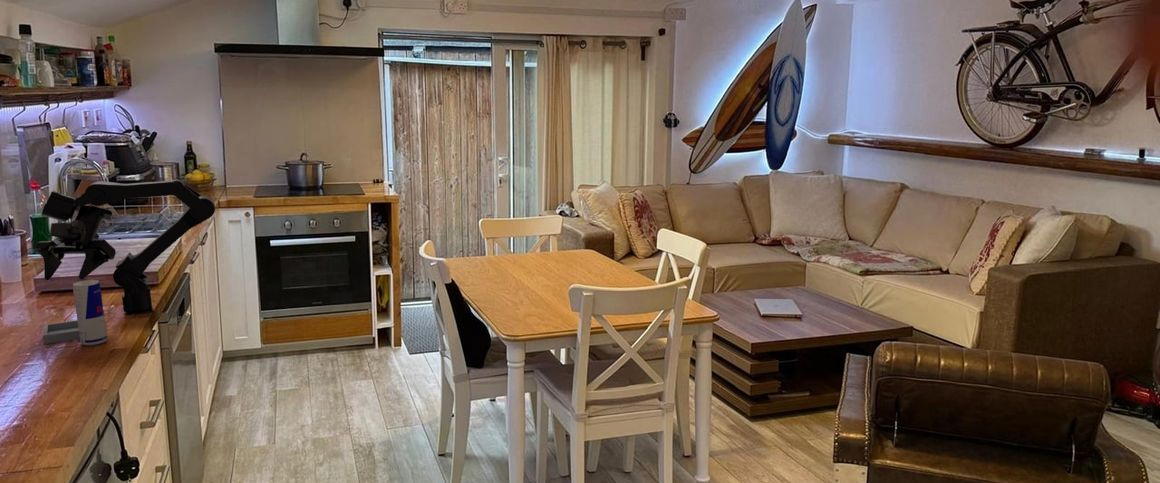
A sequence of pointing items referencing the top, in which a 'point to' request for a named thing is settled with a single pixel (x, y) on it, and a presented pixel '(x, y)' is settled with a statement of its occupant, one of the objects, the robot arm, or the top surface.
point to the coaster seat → (61, 332)
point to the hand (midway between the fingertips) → (63, 279)
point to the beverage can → (90, 312)
